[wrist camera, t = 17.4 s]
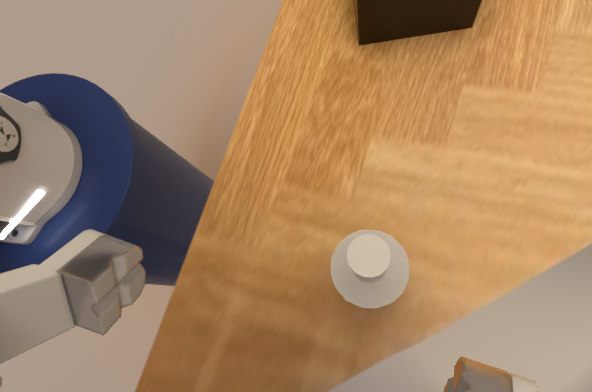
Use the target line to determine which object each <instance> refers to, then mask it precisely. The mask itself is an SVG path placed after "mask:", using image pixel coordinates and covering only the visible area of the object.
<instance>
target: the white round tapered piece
mask: <svg viewBox="0 0 592 392" xmlns="http://www.w3.org/2000/svg"><path fill="white" fill-rule="evenodd" d="M330 274H331V277H332V279H333V282H334V285H335V288H336V289H337V291H338V292H339V293H340V294H341V295H342V296H343V297H344V299H345V300H346V301H348V302H350V303H352V304H354V305H356V306H358V307H361V308H374V309H377V308H380V307H383V306H385V305H388V304H391V303H392V302H393V301H395V300H396V299H397V298H398V297H399V296H400V295H401V294H402V293H403V292H404V289H405V287H406V285H407V283H408V280H409V260H408V258H407V255H406V253H405V250H404V248H403V247H402V246H401V245H400V244H399V243H398V242H397V241H396V240H395V238H394V237H393V236H390V235H388V234H386V233H384V232H381V231H379V230H364V229H363V230H360V231H357V232H355V233H352V234H349V235H348V236H347V237H346V238H344V239H343V240H342V241H341V242H340V243H339V244H338V245H337V247H336V249H335V251H334V254H333V256H332V258H331V273H330Z"/></svg>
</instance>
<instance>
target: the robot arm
mask: <svg viewBox="0 0 592 392" xmlns="http://www.w3.org/2000/svg"><path fill="white" fill-rule="evenodd" d="M82 164H83V159H82V151H81V147H80V144H79V141H78V139H77V138H76V136H75V134H74V133H73V132H72V131H71V130H70V129H69V128H68V127H67V126H66V125H64V124H62V123H61V122H59V121H57V120H55V119H54V118H53V117H52V116H51V114H50V113H49V111H48V110H47V108H46V107H45V106H44V105H43V104H41V103H38V102H36V101H32V102H29V103H26V104H25V103H23V102H20V101H18V100H16V99H14V98H11V97H9V96H7V95H5V94H3V93H0V242H4V243H12V244H21V245H28V244H30V243H32V242H33V241H34V240H35V238H36V237H37V236H38V234H39V232H40V231H41V229H42V228H43V226H44V224H45V223H46V222H47V221H48V220H50V219H51V218H52V217H53V216H55V215H56V214H57V213H58V212H59V211H60V210H61V209H62V208H63V207H64V206H65V205H66V204H67V203H68V201H69V200H70V199H71V197H72V196H73V194H74V192H75V190H76V188H77V186H78V183H79V180H80V177H81V173H82ZM17 232H18V233H17ZM16 233H17V235H16ZM142 259H143V254H142V248H140V247H138V246H135V245H133V244H130V243H128V242H125V241H122V240H120V239H117V238H114V237H112V236H109V235H106V234H103V233H100V232H97V231H95V230H92V229H89V230H85V231H83V232H82V233H80V234H79V235H78V236H77V237H75V238H74V239H73V240H71V241H70V242H69V243H67V244H66V245H65V246H63V247H62V248H61V249H60V250H58V251H57V252H56V253H54V254H53V255H52V256H50V257H49V258H48V259H46V260H45V261H44V262H43V263H41V264H40V265H36V264H31V265H28V266H25V267H21V268H18V269H14V270H11V271H8V272H4V273H1V274H0V364H1V363H3V362H5V361H7V360H9V359H11V358H13V357H15V356H17V355H19V354H21V353H23V352H25V351H27V350H29V349H31V348H33V347H35V346H37V345H39V344H41V343H43V342H45V341H47V340H49V339H51V338H54V337H55V336H57V335H60V334H62V333H63V332H65V331H68V330H70V329H71V328H74V327H75V325H77V326H80V327H82V328H85V329H88V330H90V331H93V332H96V333H99V334H101V335H104V334H105V333H106V332H107V331H108V330H109V329H110V327H112V325H113V324H114V323H115V322H116V321H117V320H118V319H119V318H120V317H121V309H122V308H123V307H126V306H129V305H131V304H133V303H134V302H135V300H136V299H137V298H138V297H139V296H140V294H141V292H142V290H143V287H144V285H145V280H146V275H145V270H144V268H143V267H142V266H141V264H140V263H139V262H140V261H141V260H142ZM1 386H2V378H1V377H0V387H1ZM444 392H538V386H537V385H536V382H535V381H532V380H529V379H526V378H523V377H520V376H518V375H515V374H512V373H508V372H507V371H504V370H501V369H497V368H494V367H491V366H488V365H485V364H482V363H479V362H476V361H473V360H470V359H467V358H464V357H460V358H459V359H458V361H457V363H456V365H455V369H454V377H453V378H450V379H448V381H447V384H446V386H445V388H444Z"/></svg>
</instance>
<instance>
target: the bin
mask: <svg viewBox="0 0 592 392" xmlns="http://www.w3.org/2000/svg"><path fill="white" fill-rule="evenodd" d="M481 1H482V0H354V7H355V15H356V24H357V32H358V40H359V45H363V44H370V43H376V42H382V41H388V40H395V39H401V38H407V37H414V36H420V35H426V34H433V33H439V32H445V31H451V30H458V29H464V28H470V27H472V26H473V23H474V20H475V17H476V15H477V12H478V9H479V6H480V4H481Z"/></svg>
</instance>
